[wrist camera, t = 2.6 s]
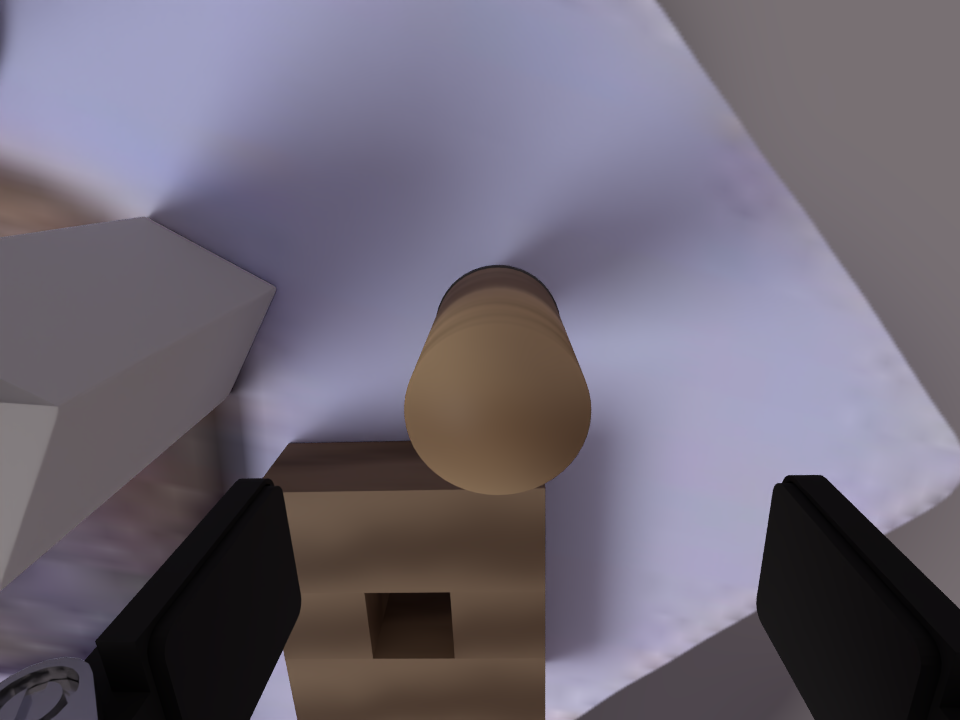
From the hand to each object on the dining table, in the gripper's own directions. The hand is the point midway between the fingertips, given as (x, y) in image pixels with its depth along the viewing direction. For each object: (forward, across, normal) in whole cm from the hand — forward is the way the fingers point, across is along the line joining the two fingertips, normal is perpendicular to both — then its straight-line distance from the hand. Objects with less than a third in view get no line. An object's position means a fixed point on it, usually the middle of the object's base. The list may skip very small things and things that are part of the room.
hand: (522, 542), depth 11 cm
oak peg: (+19, +1, 0) cm, 19 cm away
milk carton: (+19, +17, 0) cm, 25 cm away
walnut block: (+19, +6, +16) cm, 25 cm away
